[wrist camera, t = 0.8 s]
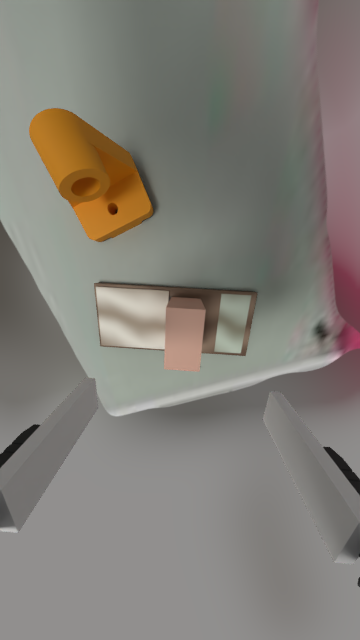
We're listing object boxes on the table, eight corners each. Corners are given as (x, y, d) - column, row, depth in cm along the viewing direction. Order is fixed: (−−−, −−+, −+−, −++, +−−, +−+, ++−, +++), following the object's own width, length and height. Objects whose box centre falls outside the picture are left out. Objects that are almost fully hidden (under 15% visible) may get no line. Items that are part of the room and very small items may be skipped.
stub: (171, 296, 29) (165, 307, 21) (200, 298, 28) (205, 309, 21) (169, 344, 31) (164, 369, 24) (196, 346, 31) (199, 371, 23)
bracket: (99, 244, 28) (40, 228, 17) (76, 199, 26) (-9, 146, 15) (156, 215, 27) (133, 176, 15) (135, 164, 25) (91, 76, 13)
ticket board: (98, 282, 30) (92, 283, 28) (254, 291, 29) (258, 293, 28) (104, 342, 34) (99, 347, 32) (242, 352, 33) (246, 357, 31)
